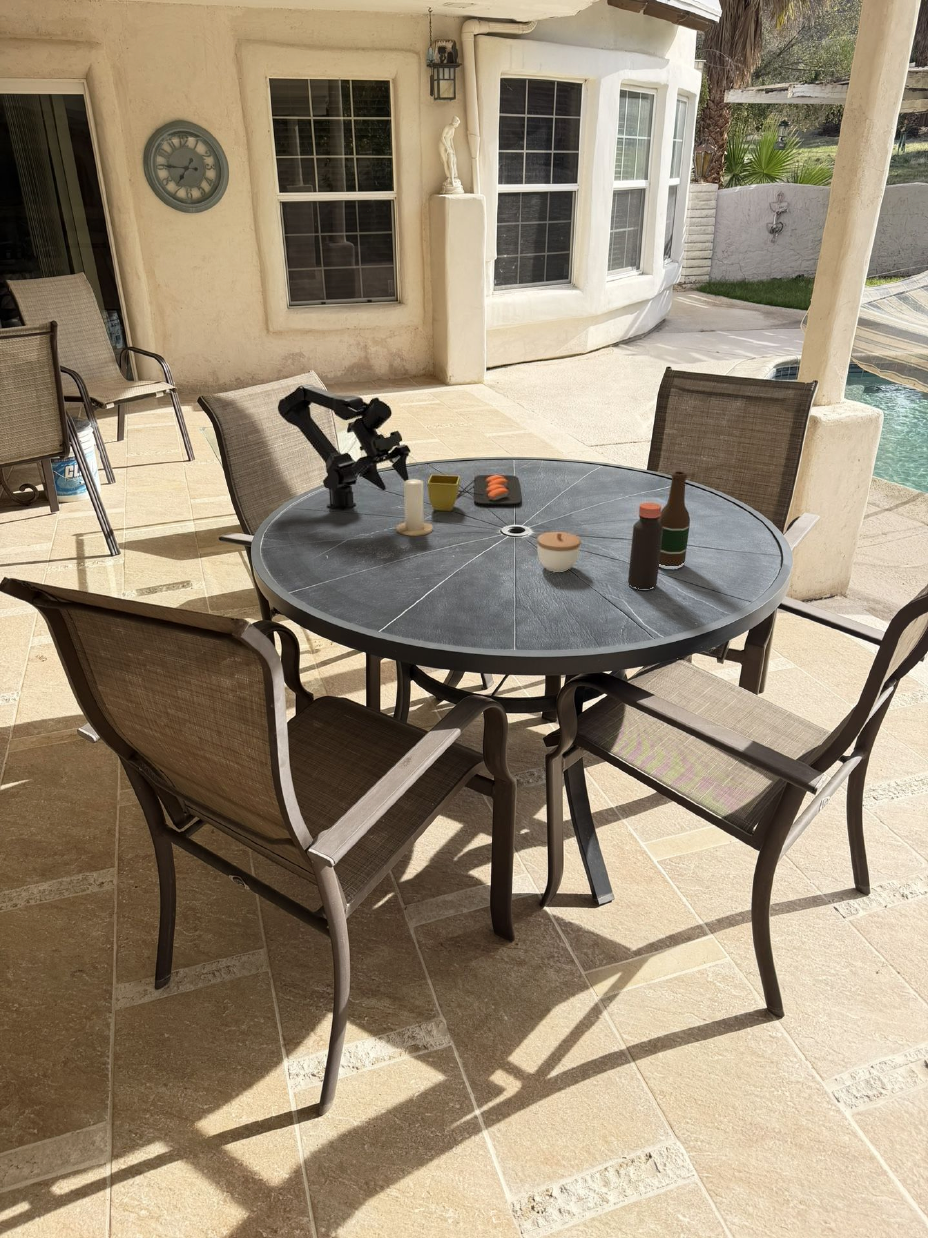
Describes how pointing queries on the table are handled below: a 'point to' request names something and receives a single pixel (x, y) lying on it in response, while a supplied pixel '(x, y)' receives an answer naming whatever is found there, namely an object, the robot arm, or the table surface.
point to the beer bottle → (675, 523)
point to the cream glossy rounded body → (413, 504)
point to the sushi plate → (495, 489)
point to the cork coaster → (425, 530)
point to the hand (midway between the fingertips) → (396, 485)
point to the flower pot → (443, 491)
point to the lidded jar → (558, 550)
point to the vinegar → (646, 547)
